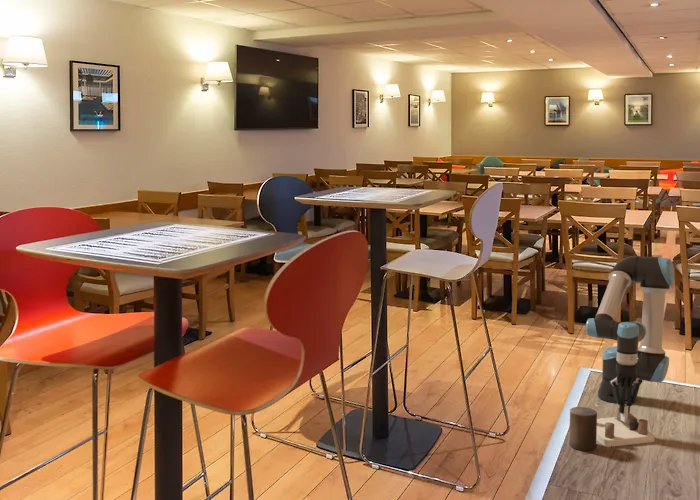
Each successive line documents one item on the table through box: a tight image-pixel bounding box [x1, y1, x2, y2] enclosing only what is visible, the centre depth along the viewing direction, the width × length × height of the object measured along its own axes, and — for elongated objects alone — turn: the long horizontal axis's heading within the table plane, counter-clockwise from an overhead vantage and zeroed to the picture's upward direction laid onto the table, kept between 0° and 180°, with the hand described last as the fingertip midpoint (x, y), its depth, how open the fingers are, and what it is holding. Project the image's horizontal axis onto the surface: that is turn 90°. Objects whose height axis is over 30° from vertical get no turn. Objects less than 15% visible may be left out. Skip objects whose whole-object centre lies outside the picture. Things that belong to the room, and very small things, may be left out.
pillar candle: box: [568, 406, 598, 452], centre depth 247 cm, size 10×10×15 cm
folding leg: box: [616, 407, 639, 429], centre depth 260 cm, size 13×4×4 cm, turn 2°
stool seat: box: [596, 416, 656, 448], centre depth 257 cm, size 20×20×8 cm
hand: (624, 420), depth 257 cm, fingers closed
